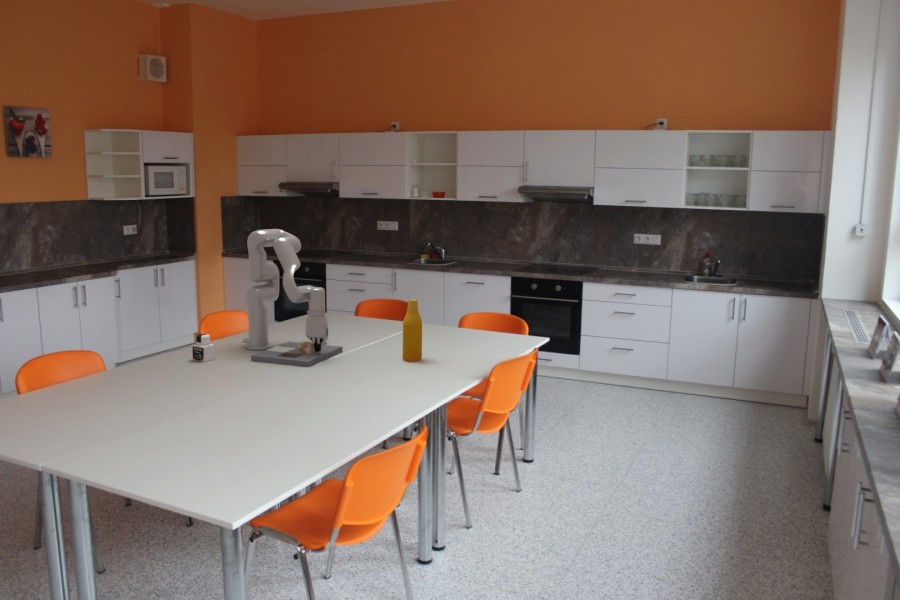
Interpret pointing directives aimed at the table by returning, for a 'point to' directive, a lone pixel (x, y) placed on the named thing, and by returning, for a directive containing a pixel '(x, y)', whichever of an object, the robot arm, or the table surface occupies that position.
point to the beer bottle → (412, 333)
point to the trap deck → (295, 355)
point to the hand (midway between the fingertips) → (317, 351)
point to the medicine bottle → (203, 349)
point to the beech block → (306, 347)
